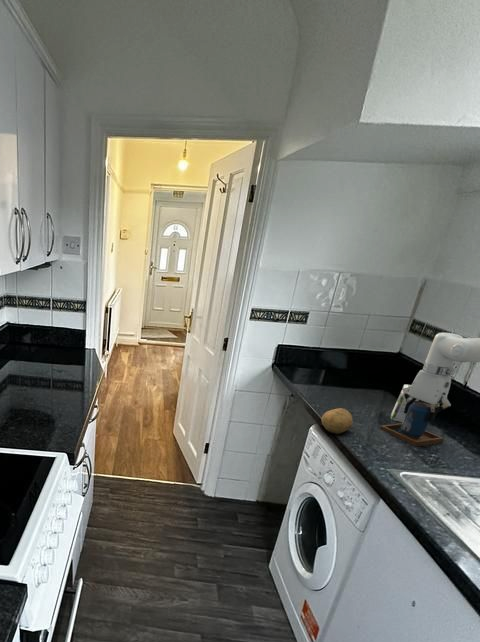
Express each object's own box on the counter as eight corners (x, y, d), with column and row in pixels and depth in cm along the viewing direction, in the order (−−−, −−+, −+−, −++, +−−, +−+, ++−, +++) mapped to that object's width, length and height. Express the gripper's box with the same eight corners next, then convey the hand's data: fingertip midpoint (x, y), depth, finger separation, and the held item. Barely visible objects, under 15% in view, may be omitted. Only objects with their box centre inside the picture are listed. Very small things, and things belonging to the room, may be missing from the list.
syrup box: (389, 416, 168) (403, 383, 162) (406, 420, 166) (421, 387, 160) (390, 421, 164) (404, 387, 158) (408, 425, 161) (423, 391, 155)
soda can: (423, 435, 151) (436, 404, 146) (420, 440, 147) (433, 409, 142) (401, 428, 156) (413, 398, 151) (397, 433, 151) (409, 403, 146)
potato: (312, 431, 151) (318, 412, 147) (325, 421, 160) (332, 402, 156) (340, 442, 145) (348, 421, 141) (353, 431, 154) (360, 411, 150)
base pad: (441, 443, 148) (443, 438, 147) (414, 447, 144) (416, 441, 143) (405, 427, 159) (407, 422, 159) (379, 430, 155) (381, 425, 154)
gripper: (471, 377, 135) (450, 426, 142) (419, 362, 150) (402, 407, 157) (456, 378, 133) (435, 428, 140) (404, 362, 148) (387, 408, 155)
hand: (417, 416), depth 148 cm, fingers closed on soda can, 7 cm apart
